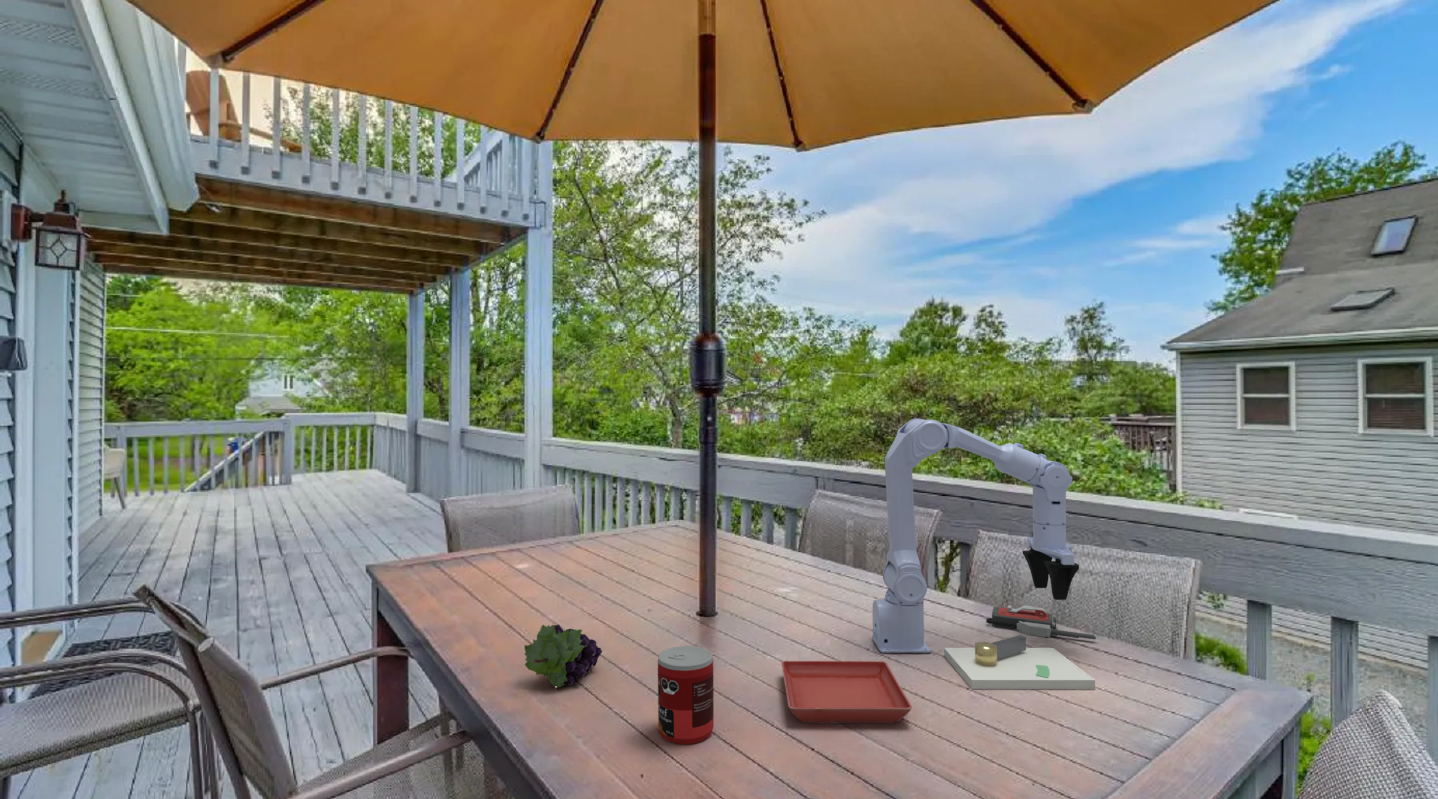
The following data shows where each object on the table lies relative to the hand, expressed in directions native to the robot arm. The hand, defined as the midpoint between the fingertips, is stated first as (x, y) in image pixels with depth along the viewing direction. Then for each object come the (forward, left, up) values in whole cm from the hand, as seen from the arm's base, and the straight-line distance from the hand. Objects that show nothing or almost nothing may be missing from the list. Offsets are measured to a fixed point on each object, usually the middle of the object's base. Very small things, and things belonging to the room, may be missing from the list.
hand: (1049, 593), depth 125 cm
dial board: (-12, -12, -10) cm, 20 cm away
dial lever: (-13, -10, -8) cm, 19 cm away
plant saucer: (-44, -23, -11) cm, 51 cm away
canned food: (-68, -33, -10) cm, 76 cm away
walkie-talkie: (+2, +9, -11) cm, 14 cm away
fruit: (-90, -15, -10) cm, 92 cm away
